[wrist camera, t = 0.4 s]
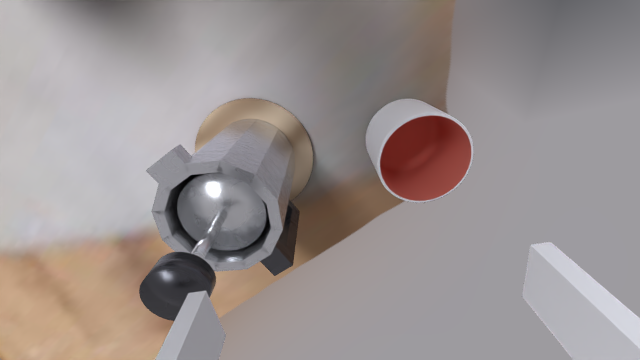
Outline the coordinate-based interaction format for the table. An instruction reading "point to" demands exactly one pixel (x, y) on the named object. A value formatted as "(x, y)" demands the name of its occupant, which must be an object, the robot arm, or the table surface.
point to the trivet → (268, 113)
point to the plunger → (204, 239)
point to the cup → (418, 150)
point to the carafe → (243, 164)
